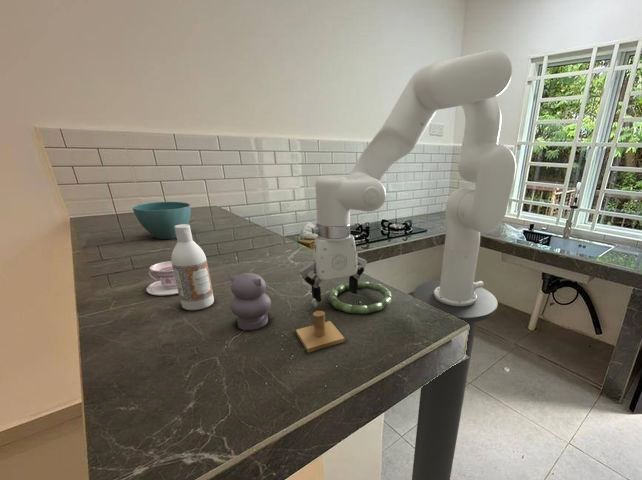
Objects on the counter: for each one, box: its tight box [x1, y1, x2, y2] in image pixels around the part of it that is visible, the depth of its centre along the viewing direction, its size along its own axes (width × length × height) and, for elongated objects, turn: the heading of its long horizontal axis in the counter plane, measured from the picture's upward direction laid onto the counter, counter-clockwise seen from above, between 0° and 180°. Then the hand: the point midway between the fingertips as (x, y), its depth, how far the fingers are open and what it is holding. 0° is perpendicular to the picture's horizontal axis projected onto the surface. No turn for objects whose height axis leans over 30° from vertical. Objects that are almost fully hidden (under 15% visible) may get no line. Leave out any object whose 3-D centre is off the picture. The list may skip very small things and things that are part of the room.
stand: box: [295, 310, 346, 354], centre depth 69 cm, size 8×8×6 cm
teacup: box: [145, 260, 179, 297], centre depth 87 cm, size 12×12×6 cm
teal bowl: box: [132, 201, 192, 240], centre depth 127 cm, size 18×18×12 cm
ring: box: [327, 281, 393, 315], centre depth 87 cm, size 17×17×2 cm
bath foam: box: [170, 224, 215, 311], centre depth 76 cm, size 7×7×20 cm
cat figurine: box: [227, 272, 272, 331], centre depth 72 cm, size 8×8×12 cm
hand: (335, 295), depth 82 cm, fingers open, 9 cm apart
